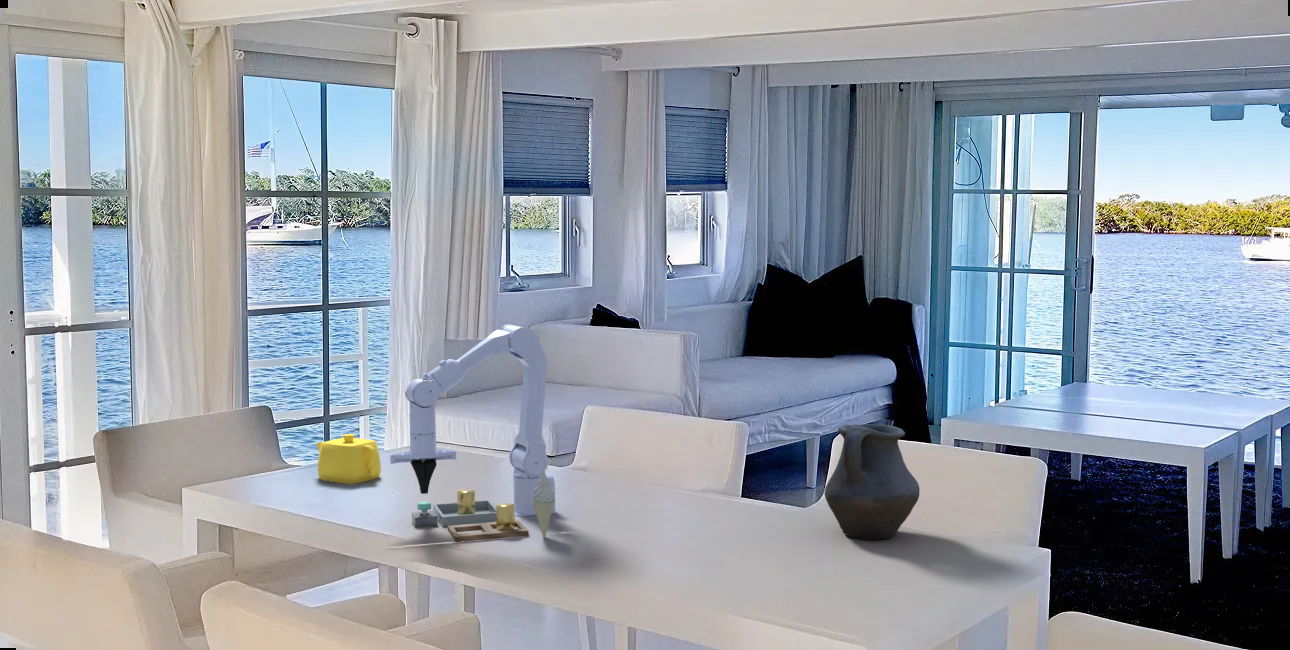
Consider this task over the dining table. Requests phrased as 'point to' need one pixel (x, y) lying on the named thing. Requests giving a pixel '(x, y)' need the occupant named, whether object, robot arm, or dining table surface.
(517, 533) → the board
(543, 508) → the ice cream cone
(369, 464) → the teapot
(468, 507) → the block
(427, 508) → the button
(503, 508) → the cylinder
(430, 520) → the button housing
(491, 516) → the tray
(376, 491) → the dining table surface
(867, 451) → the pitcher
